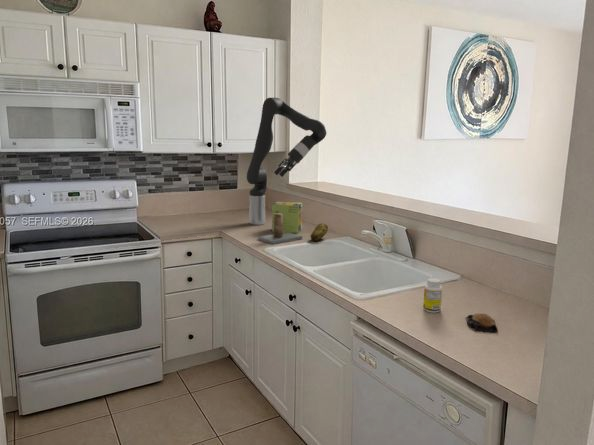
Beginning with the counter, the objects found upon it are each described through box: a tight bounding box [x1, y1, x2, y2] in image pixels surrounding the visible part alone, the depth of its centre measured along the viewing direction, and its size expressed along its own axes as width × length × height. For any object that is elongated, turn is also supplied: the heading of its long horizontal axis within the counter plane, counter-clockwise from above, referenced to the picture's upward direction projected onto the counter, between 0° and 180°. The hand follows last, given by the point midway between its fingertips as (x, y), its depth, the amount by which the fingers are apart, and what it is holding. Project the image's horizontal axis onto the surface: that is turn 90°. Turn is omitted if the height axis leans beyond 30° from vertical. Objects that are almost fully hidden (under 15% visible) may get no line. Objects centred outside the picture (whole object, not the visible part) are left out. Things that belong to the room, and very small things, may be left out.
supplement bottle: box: [423, 277, 443, 314], centre depth 155 cm, size 6×6×10 cm
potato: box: [310, 223, 329, 242], centre depth 250 cm, size 8×13×8 cm, turn 133°
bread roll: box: [464, 313, 499, 334], centre depth 145 cm, size 11×9×4 cm
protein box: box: [271, 201, 303, 234], centre depth 271 cm, size 10×15×16 cm
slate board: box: [257, 232, 303, 245], centre depth 251 cm, size 13×19×2 cm
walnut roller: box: [273, 213, 283, 238], centre depth 248 cm, size 5×5×12 cm
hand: (277, 174), depth 254 cm, fingers open, 8 cm apart
